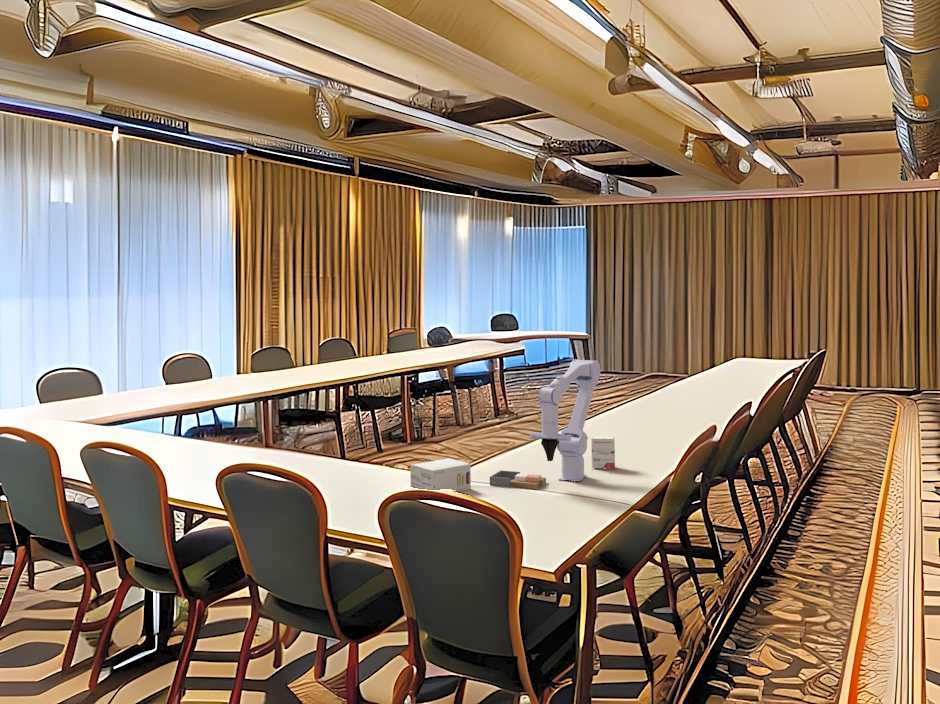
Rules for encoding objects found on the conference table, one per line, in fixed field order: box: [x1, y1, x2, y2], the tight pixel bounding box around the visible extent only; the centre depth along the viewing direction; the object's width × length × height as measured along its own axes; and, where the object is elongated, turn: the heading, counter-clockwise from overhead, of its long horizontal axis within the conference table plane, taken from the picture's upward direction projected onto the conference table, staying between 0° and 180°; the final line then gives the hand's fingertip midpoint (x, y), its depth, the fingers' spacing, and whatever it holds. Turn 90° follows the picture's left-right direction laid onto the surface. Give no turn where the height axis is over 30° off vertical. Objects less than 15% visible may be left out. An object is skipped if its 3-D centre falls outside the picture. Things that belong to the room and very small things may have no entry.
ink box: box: [590, 436, 616, 470], centre depth 325 cm, size 9×5×12 cm, turn 77°
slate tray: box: [489, 470, 521, 488], centre depth 305 cm, size 10×8×3 cm
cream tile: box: [515, 473, 530, 481], centre depth 301 cm, size 4×4×2 cm
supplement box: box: [410, 457, 472, 492], centre depth 296 cm, size 17×13×9 cm
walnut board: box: [509, 476, 547, 490], centre depth 301 cm, size 10×10×2 cm
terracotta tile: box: [527, 474, 542, 482], centre depth 299 cm, size 4×4×2 cm
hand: (550, 460), depth 296 cm, fingers closed
